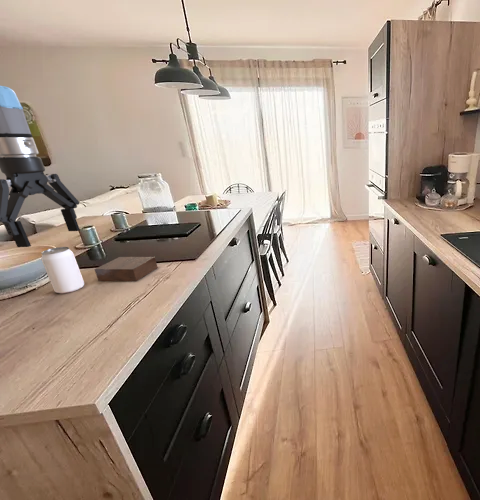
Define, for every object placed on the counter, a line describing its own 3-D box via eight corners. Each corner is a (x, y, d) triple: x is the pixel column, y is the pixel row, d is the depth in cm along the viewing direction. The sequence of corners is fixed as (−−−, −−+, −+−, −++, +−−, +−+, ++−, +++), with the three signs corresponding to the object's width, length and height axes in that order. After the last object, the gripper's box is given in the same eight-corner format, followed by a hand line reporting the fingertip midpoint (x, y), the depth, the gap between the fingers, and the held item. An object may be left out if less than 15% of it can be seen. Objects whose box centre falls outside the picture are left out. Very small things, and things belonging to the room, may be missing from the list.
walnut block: (98, 280, 88) (94, 269, 87) (123, 267, 97) (119, 256, 96) (136, 281, 88) (133, 269, 86) (157, 267, 97) (154, 256, 96)
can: (59, 296, 79) (43, 256, 75) (51, 290, 83) (35, 251, 78) (88, 286, 84) (74, 248, 80) (80, 281, 88) (66, 244, 83)
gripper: (-31, 158, 59) (13, 254, 66) (79, 154, 82) (102, 225, 90) (-67, 159, 59) (-18, 255, 66) (53, 154, 82) (79, 225, 90)
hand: (51, 238), depth 78 cm, fingers open, 13 cm apart
